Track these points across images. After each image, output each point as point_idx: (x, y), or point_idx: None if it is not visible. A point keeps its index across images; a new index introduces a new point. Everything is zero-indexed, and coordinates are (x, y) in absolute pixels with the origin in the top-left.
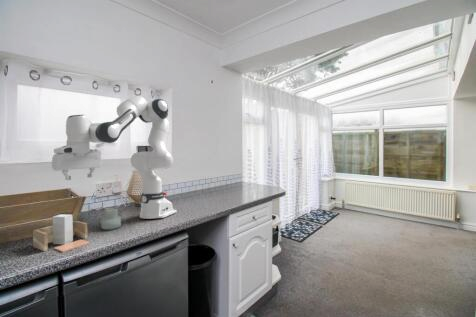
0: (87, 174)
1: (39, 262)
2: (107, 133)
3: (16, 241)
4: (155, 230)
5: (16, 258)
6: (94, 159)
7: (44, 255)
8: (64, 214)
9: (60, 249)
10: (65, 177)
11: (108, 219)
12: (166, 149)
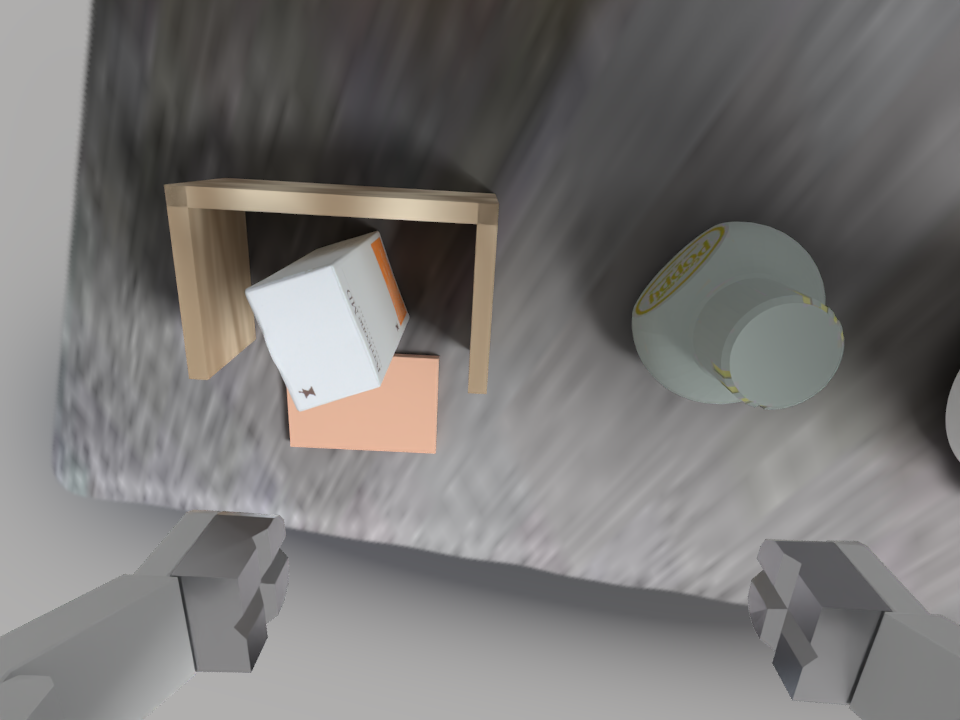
0: (809, 599)
1: (179, 462)
2: None
3: None
4: None
5: (116, 302)
6: None
7: (221, 395)
8: (343, 309)
9: (291, 414)
10: (159, 551)
11: (691, 357)
12: None
